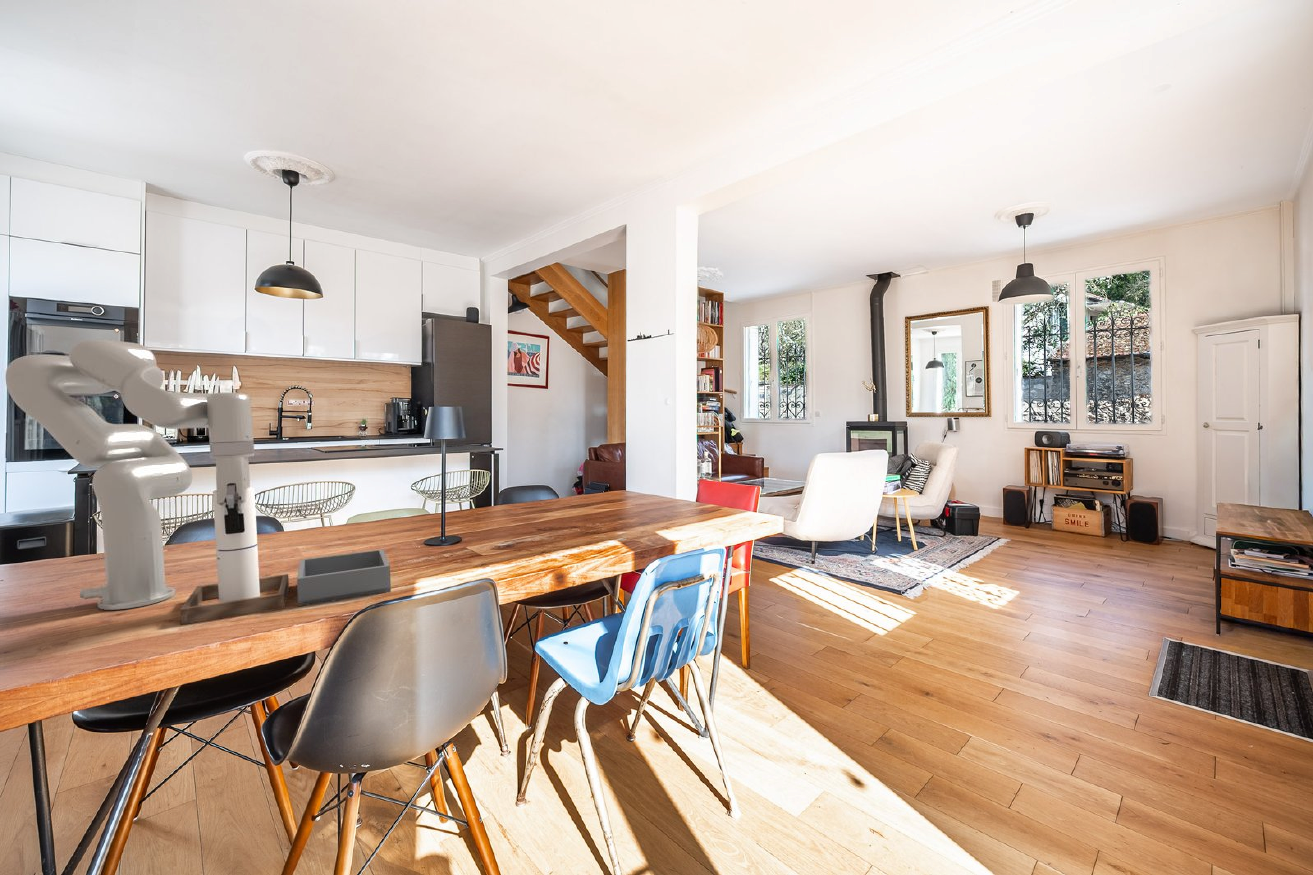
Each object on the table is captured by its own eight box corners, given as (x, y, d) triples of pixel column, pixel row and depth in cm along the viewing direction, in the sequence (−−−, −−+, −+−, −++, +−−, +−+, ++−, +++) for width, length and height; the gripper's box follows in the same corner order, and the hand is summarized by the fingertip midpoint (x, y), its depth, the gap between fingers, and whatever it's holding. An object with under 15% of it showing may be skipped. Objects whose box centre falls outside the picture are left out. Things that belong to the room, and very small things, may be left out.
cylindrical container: (238, 610, 118) (232, 492, 116) (210, 608, 119) (203, 492, 118) (268, 599, 125) (262, 487, 123) (241, 597, 126) (235, 487, 125)
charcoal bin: (298, 606, 120) (297, 578, 119) (301, 584, 135) (300, 559, 135) (390, 591, 129) (389, 565, 128) (383, 572, 144) (382, 549, 144)
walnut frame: (181, 624, 110) (180, 609, 110) (197, 599, 125) (197, 586, 125) (284, 608, 119) (283, 594, 119) (288, 586, 133) (288, 574, 133)
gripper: (217, 449, 125) (223, 525, 126) (202, 453, 111) (209, 539, 111) (258, 447, 129) (263, 520, 130) (249, 451, 114) (255, 533, 115)
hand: (238, 529), depth 121 cm, fingers open, 9 cm apart
